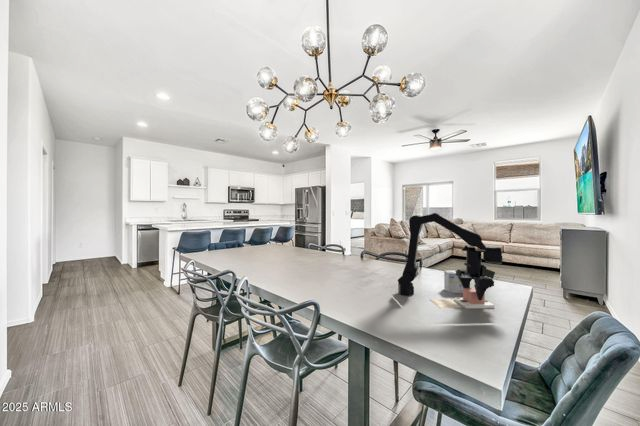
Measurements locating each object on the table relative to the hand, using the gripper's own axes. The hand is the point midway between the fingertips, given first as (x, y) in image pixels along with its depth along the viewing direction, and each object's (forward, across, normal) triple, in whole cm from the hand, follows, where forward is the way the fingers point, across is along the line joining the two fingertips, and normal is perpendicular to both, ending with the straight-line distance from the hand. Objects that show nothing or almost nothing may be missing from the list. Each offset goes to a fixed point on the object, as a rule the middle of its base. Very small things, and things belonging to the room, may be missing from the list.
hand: (473, 296), depth 118 cm
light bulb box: (+4, +19, -3) cm, 20 cm away
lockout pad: (+4, +1, +12) cm, 13 cm away
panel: (+4, 0, 0) cm, 4 cm away
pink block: (+2, 0, 0) cm, 2 cm away
